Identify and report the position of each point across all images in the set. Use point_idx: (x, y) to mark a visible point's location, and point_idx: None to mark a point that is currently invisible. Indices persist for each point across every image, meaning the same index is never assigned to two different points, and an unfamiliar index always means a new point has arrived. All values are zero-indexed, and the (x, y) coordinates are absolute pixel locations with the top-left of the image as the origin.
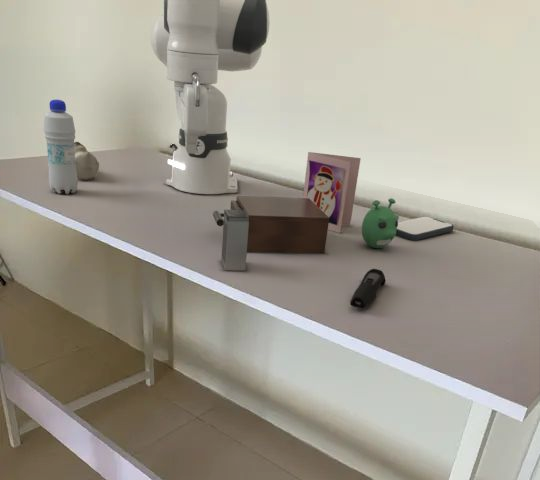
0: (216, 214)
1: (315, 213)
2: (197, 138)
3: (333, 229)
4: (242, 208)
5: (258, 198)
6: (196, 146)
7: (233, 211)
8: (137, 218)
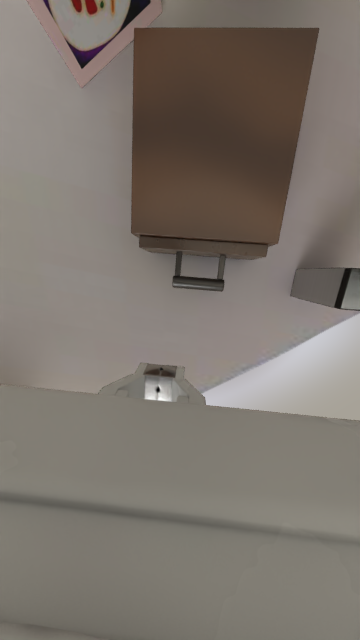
0: (193, 286)
1: (277, 60)
2: (196, 390)
3: (147, 22)
4: (205, 239)
5: (150, 186)
6: (183, 374)
7: (357, 294)
8: (108, 368)
